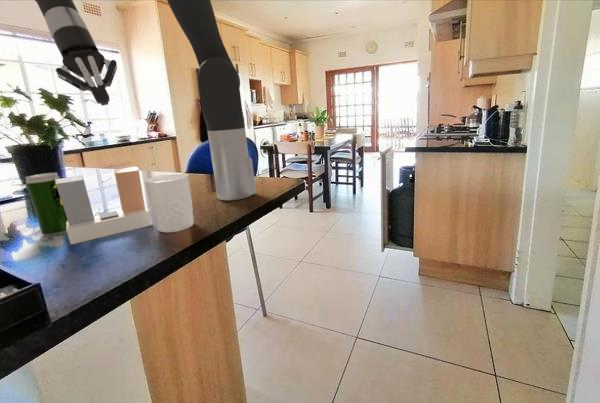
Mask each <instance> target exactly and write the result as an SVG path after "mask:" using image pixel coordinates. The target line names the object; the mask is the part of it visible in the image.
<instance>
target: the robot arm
mask: <svg viewBox="0 0 600 403" xmlns="http://www.w3.org/2000/svg"><path fill="white" fill-rule="evenodd" d="M34 1H35V2H36V3H37V6H38V7H39V10H40V12H41V14H42V16H43V18H44V20H45V23H46V26H47V29H48V31H49V33H50V35H51V38H52V39H53V41H54V42H55V46H56V47H57V49H58V51H59V53H60V55H61V58H62V61H61V62H62V66H61V67H57V68H56V69H55V71H56V75H57V77H58V78H59V79H61V80H62V81H64V82H66V83H67V84H70V85H71V86H73V87H74V88H77V89H78V90H80V91H81V92H85V91H86V92H87V91H89V92H90V93H92V96H93V98H94V100H95V102H96V103H97V104H98V105H99V104H100V105H101V106H103V107H104V106H106V105H109V102H110V95H109V94H108V91H107V89H106V88H108V87H111V86H112V84H113V80H114V77H115V74H116V72H117V70H118V66H117V64H118V62H117V61H116V60H115V59H112V60H109V59H107V58H105V56H104V55H103V54H102V53H101V52H100V51H99V49H98V46H97V45H96V43H95V40H94V39H93V37H92V35H91V33H90V31H89V28H88V27H87V24H86V23H85V20H84V19H83V17H81V15H80V13H79V11H78V8H77V6H76V5H75V2H74V0H34ZM166 1H167V4H168V5H169V8H170V11H171V12H172V13H173V15H174V17H175V19H176V22H177V23H178V25H179V26H180V28H181V30H182V32H183V33H184V35H185V37H186V38H187V40H188V42H189V43H190V45H191V47H192V50H193V52H194V55H195V58H196V61H197V64H198V66H199V68H198V71H197V86H198V92H199V97H200V98H199V100H200V105H201V111H202V114H203V116H202V117H203V118H204V121H205V125H206V131H207V137H208V142H209V150H210V157H211V163H212V170H213V175H214V182H215V183H214V184H215V191H216V195H217V196H216V197H217V199H218V200H221V201H237V200H243V199H246V198H249V197H251V196H253V195H256V194H257V189H256V182H255V175H254V174H255V173H254V166H253V159H252V157H250V156H249V150H248V142H247V133H246V125H245V117H244V112H243V111H244V110H243V104H242V97H241V90H240V88H241V78H240V74H239V72H238V71H237V68H235V66H234V63H233V61H232V60H231V57H230V55H229V53H228V51H227V49H226V47H225V45H224V42H223V39H222V37H221V34H220V31H219V27H218V24H217V23H218V22H217V19H216V14H215V12H214V9H213V5H212V1H211V0H166ZM104 66H105V69H106V72H105V75H104V78H102V77H101V75H102V72H103V69H104ZM72 73H73V74H72ZM75 75H76V76H75ZM80 78H81V79H80ZM92 78H93V79H92Z"/></svg>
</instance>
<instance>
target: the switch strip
mask: <svg viewBox="0 0 600 403" xmlns="http://www.w3.org/2000/svg"><path fill="white" fill-rule="evenodd" d="M93 216H94V215H93ZM94 219H95V220H92V221H87V222H83V223H78V224H73V225H69V222H67V224H66V230H67V233H66V234H67V237H68V241H69V244H70V245H76V244H79V243H84V242H87V241H92V240H97V239H100V238H101V239H102V238H104V237H108V236H112V235H116V234H121V233H124V232H129V231H133V230H138V229H141V228H145V227H150V226H153V220H152V215H151V211H150V209H149V208H147V207H146V206H145V209H143V210H138V211H133V212H129V213H123V211H122V210H118V211H117V210H113V211H109V212H104V213H99V214H98V215H95V216H94Z"/></svg>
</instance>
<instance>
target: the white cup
mask: <svg viewBox="0 0 600 403" xmlns="http://www.w3.org/2000/svg"><path fill="white" fill-rule="evenodd" d="M189 176H190V175H189V174H187V173H182V172H181V173H180V172H179V173H169V174H162V175H156V176H152V177H149V178H146V179H145V180H144V181H143V182H144V185H145V189H146V193H147V197H148V200H149V204H150V207H151V210H152V215H153V217H154V218H155V219H154V220H155V223H156V226H157V227H156V228H157V230H158V231H159V232H161V233H177V232H181V231H184V230H187V229H189V228H191V227H193V225H194V223H195V222H194V215H193V214H194V213H193V210H194V209H193V201H192V199H193V198H192V194H191V193H192V192H191V183H190V177H189Z"/></svg>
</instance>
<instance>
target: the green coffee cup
mask: <svg viewBox="0 0 600 403" xmlns="http://www.w3.org/2000/svg"><path fill="white" fill-rule="evenodd" d="M25 179H26V180H25V185H26V188H27V191H28V194H29V197H30V199H31V200H30V201H31V203H32V206H33V211H34V213H35V216H36V218H37V223H38V225H39V228H40V232H41V234H42V235H43V236H44V237H48V238H50V237H52V238H53V237H57V236H58V237H59V236H63V235H65V234H67V230H66V224H67V222H68V219H67V216H66V213H65V210H64V207H63V204H62V201H61V198H60V195H59V192H58V189H57V186H56V182H55V179H61V177H60V176H59V175H58V172H46V173H39V174H33V175H29V176H25Z"/></svg>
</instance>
